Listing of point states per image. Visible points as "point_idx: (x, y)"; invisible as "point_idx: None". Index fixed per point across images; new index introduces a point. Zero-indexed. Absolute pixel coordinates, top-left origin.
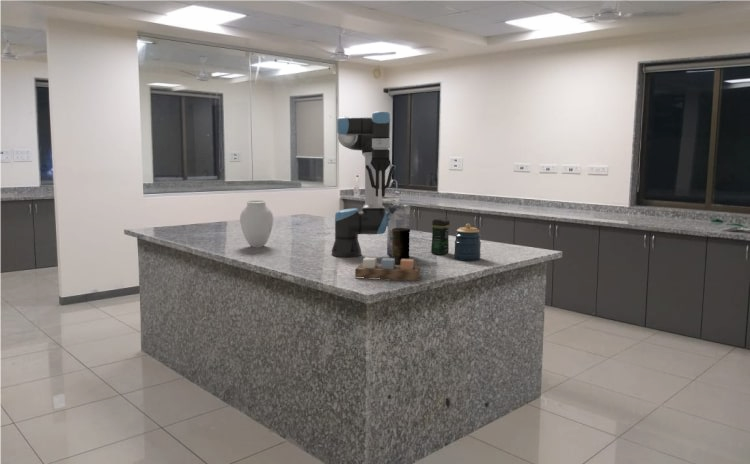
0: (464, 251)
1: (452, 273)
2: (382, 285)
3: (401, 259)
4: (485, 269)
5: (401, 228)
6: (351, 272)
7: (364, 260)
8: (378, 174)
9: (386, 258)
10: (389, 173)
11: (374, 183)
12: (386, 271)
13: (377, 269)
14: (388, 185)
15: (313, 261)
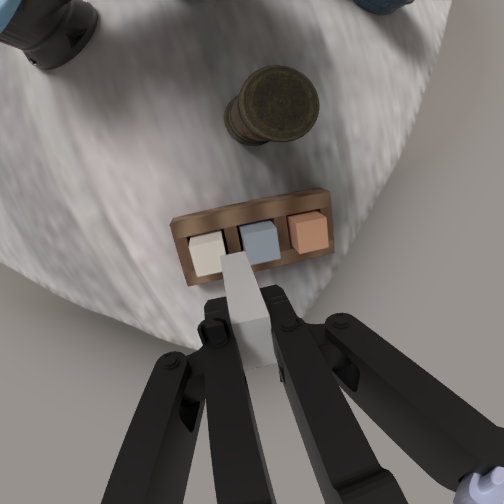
0: (382, 5)
1: (379, 146)
2: None
3: (297, 234)
4: (422, 94)
5: (278, 84)
6: (150, 223)
7: (201, 274)
8: (275, 502)
9: (253, 237)
10: (422, 459)
11: (184, 389)
12: (263, 268)
13: None
14: (355, 367)
15: (22, 151)
